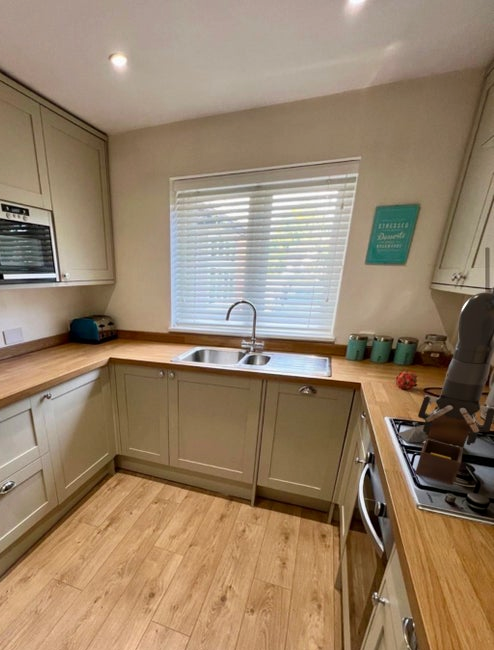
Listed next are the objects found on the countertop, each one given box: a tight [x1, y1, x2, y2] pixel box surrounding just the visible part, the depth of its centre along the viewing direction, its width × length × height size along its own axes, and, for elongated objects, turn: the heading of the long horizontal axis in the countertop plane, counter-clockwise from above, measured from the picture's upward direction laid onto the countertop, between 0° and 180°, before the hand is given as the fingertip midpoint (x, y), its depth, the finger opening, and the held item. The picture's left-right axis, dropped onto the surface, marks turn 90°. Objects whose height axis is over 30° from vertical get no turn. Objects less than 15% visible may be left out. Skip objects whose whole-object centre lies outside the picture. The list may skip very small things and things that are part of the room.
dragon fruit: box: [394, 370, 418, 390], centre depth 155 cm, size 8×8×12 cm
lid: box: [427, 405, 477, 448], centre depth 89 cm, size 11×8×5 cm
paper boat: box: [396, 421, 429, 443], centre depth 106 cm, size 12×6×9 cm
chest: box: [415, 439, 464, 486], centre depth 89 cm, size 10×8×7 cm
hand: (446, 438), depth 85 cm, fingers open, 8 cm apart
